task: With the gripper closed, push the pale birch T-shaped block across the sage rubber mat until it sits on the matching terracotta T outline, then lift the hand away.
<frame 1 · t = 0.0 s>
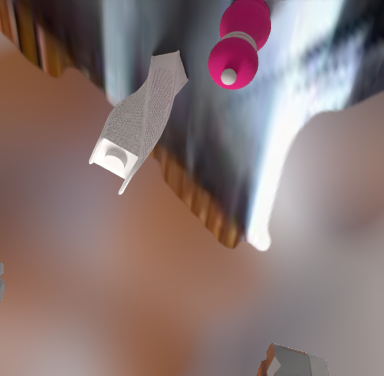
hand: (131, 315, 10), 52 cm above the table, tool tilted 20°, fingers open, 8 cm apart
skyscraper: (171, 68, 62), on the table
pepper mill: (248, 16, 53), on the table
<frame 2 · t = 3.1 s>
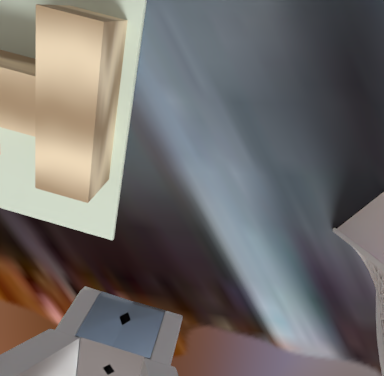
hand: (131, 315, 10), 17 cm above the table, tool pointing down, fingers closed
T block: (40, 87, 26), resting on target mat
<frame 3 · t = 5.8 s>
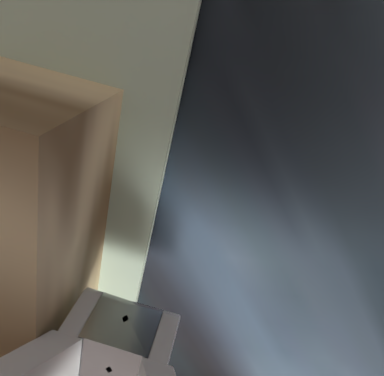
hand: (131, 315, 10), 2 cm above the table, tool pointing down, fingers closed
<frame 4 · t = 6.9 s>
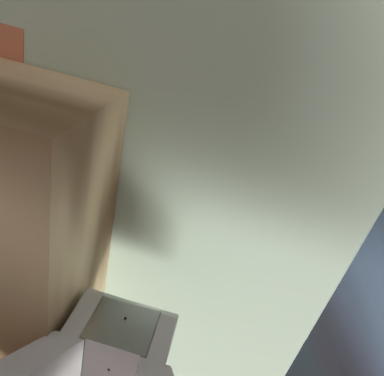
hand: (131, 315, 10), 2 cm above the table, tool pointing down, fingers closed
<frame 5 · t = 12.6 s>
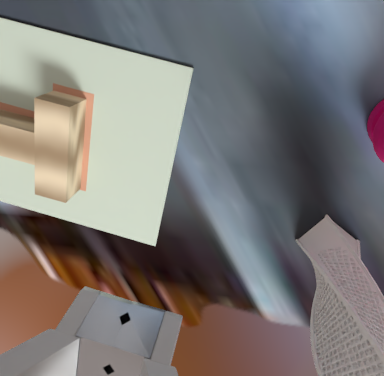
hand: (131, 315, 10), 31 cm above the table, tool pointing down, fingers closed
skyscraper: (327, 240, 44), on the table
T block: (37, 134, 43), resting on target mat
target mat: (75, 141, 43), on the table
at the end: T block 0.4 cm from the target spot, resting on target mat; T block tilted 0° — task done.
